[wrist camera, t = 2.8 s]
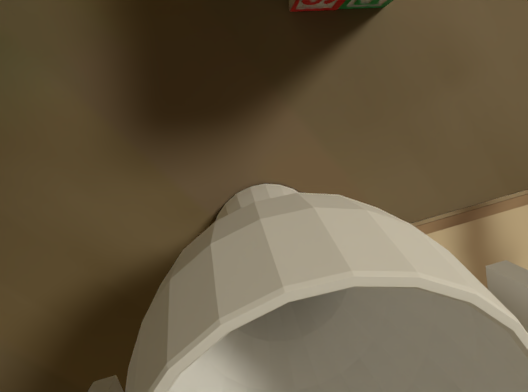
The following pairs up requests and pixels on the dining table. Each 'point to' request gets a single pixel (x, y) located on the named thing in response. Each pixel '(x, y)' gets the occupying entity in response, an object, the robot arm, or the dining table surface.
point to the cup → (323, 307)
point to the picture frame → (484, 233)
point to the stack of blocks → (334, 4)
